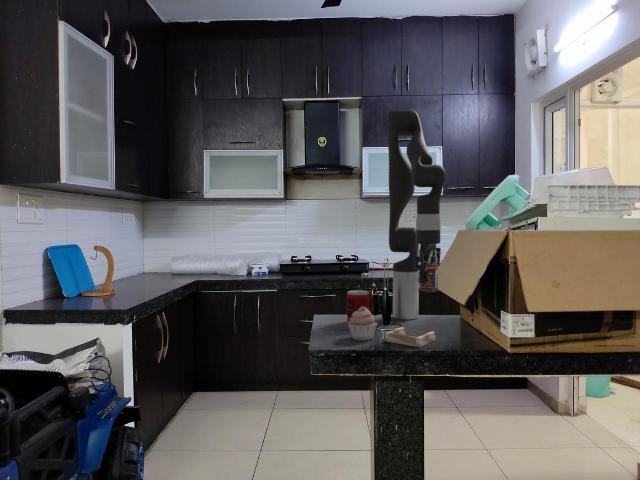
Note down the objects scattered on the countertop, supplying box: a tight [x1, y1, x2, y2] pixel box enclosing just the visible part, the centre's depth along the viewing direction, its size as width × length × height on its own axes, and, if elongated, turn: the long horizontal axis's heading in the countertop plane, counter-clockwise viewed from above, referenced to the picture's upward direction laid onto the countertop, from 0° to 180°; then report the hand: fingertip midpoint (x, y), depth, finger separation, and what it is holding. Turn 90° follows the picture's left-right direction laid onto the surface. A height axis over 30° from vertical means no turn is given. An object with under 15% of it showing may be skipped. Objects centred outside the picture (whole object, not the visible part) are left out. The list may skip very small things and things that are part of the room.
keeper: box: [384, 326, 436, 348], centre depth 151 cm, size 10×11×2 cm
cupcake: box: [346, 306, 378, 342], centre depth 154 cm, size 9×9×10 cm
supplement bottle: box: [418, 256, 439, 293], centre depth 159 cm, size 6×6×11 cm
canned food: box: [346, 289, 370, 323], centre depth 177 cm, size 8×8×11 cm
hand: (428, 281), depth 159 cm, fingers closed on supplement bottle, 6 cm apart
